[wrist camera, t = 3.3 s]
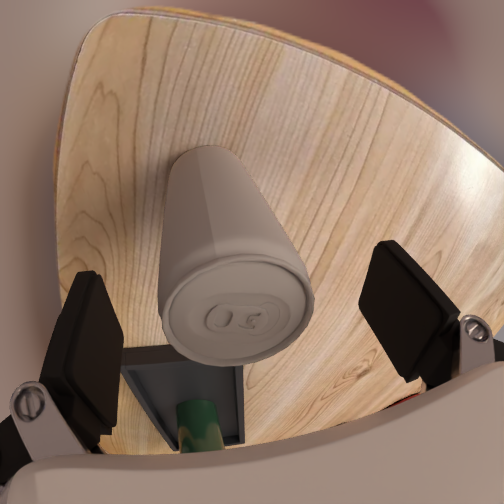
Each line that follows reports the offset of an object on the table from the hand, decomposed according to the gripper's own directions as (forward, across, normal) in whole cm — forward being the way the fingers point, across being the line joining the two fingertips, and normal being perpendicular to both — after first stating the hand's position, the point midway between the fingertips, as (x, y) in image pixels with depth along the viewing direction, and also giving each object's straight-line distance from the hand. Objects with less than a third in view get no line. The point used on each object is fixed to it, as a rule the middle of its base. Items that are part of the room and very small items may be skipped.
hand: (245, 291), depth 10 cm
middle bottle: (+10, +5, +28) cm, 30 cm away
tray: (+11, +5, +28) cm, 30 cm away
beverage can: (+11, +1, 0) cm, 11 cm away
